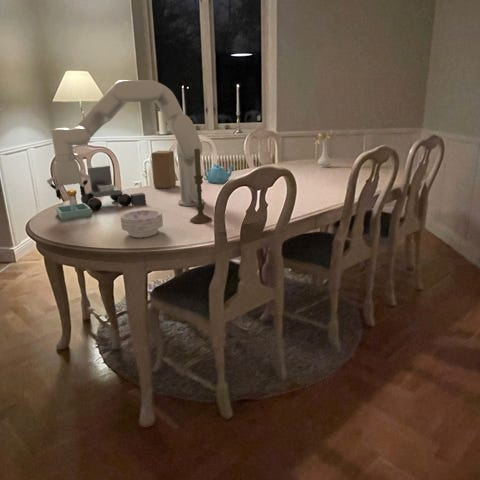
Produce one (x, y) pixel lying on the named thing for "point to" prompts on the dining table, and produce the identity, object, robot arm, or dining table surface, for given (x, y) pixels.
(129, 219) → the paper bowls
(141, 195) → the chock
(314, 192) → the dining table surface
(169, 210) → the dining table surface
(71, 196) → the stop pin
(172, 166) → the wooden block
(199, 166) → the candlestick holder
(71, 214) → the tray
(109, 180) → the trolley
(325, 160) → the flower vase
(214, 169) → the teapot
